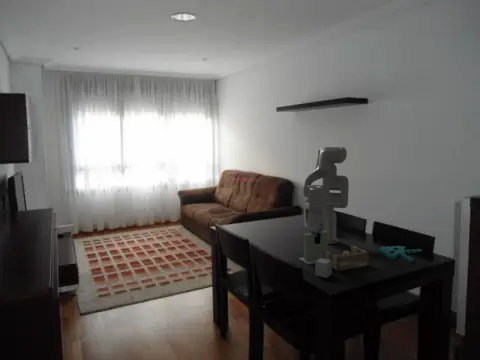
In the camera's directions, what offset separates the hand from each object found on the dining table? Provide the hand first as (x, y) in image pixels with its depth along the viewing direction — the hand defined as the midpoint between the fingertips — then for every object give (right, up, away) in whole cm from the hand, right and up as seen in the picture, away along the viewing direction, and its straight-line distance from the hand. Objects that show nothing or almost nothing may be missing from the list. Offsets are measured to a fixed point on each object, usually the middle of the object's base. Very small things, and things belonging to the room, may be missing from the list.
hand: (315, 242), depth 203 cm
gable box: (+15, -1, +65) cm, 67 cm away
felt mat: (0, -9, +1) cm, 9 cm away
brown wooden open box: (+14, -10, -7) cm, 19 cm away
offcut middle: (+15, -8, -7) cm, 19 cm away
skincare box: (-1, -13, -21) cm, 25 cm away
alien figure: (+48, -8, +6) cm, 49 cm away
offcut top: (+15, -6, -7) cm, 17 cm away
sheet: (0, -8, +1) cm, 9 cm away
